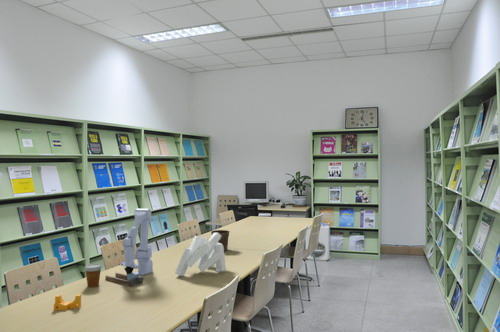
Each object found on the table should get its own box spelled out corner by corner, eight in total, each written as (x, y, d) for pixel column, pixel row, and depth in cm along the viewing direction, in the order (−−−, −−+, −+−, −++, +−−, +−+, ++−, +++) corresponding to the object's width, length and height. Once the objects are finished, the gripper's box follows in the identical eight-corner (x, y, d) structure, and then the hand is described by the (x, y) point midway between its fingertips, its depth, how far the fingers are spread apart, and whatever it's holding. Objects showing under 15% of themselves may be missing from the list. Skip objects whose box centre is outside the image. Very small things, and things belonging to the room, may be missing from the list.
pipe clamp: (53, 310, 195) (53, 297, 195) (57, 307, 199) (57, 294, 199) (78, 309, 196) (78, 296, 196) (81, 306, 200) (81, 294, 200)
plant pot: (208, 249, 334) (208, 230, 334) (225, 247, 341) (225, 229, 341) (214, 253, 319) (214, 233, 319) (232, 251, 326) (232, 232, 326)
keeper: (133, 281, 241) (133, 272, 241) (138, 283, 239) (138, 273, 239) (127, 283, 237) (127, 274, 237) (132, 285, 234) (132, 275, 234)
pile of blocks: (197, 291, 239) (223, 241, 241) (164, 267, 253) (189, 220, 255) (222, 290, 270) (245, 246, 272) (191, 268, 284) (214, 226, 286)
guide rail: (116, 276, 253) (116, 270, 253) (143, 282, 239) (143, 276, 239) (105, 279, 246) (105, 273, 246) (131, 286, 232) (131, 280, 232)
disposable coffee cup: (83, 288, 228) (83, 268, 228) (85, 283, 237) (85, 264, 237) (100, 287, 230) (100, 267, 230) (102, 282, 240) (102, 263, 240)
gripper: (116, 256, 240) (116, 278, 240) (132, 259, 232) (131, 282, 232) (125, 254, 246) (125, 275, 246) (141, 257, 238) (141, 279, 238)
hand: (129, 278), depth 240 cm, fingers closed
